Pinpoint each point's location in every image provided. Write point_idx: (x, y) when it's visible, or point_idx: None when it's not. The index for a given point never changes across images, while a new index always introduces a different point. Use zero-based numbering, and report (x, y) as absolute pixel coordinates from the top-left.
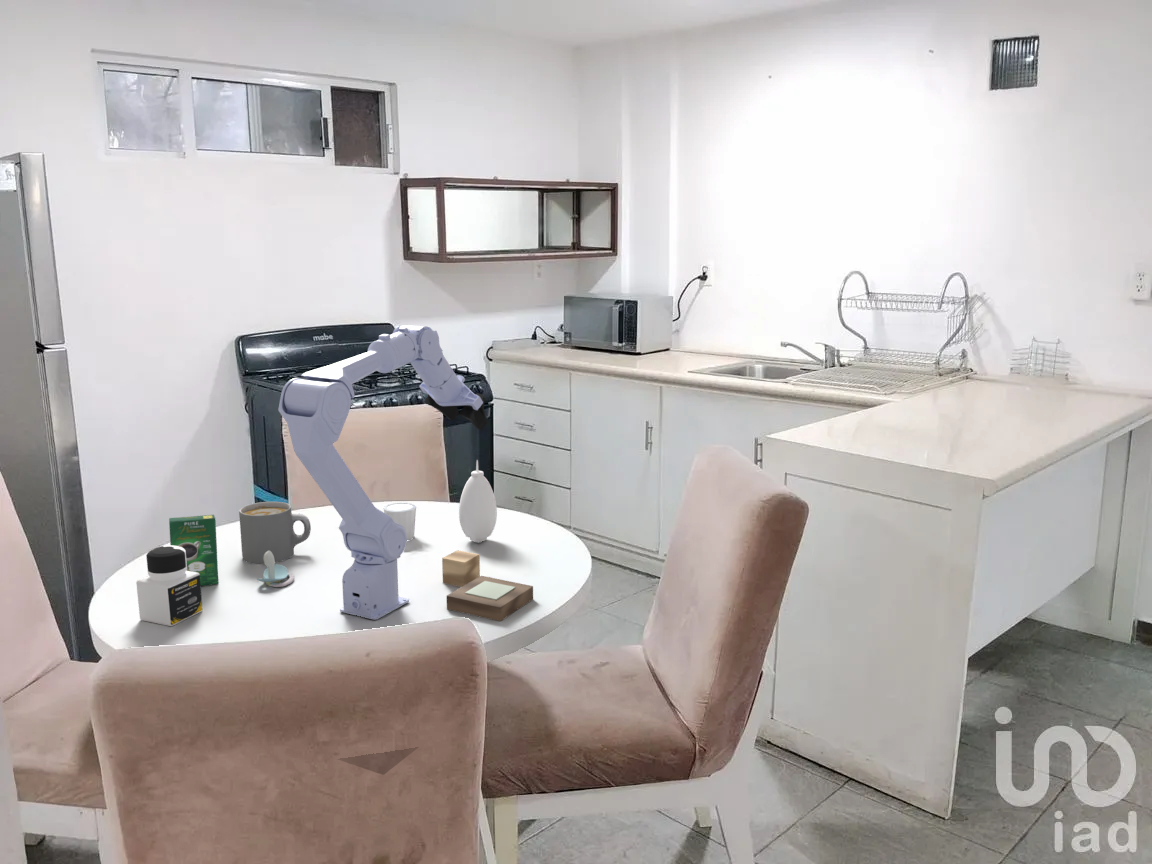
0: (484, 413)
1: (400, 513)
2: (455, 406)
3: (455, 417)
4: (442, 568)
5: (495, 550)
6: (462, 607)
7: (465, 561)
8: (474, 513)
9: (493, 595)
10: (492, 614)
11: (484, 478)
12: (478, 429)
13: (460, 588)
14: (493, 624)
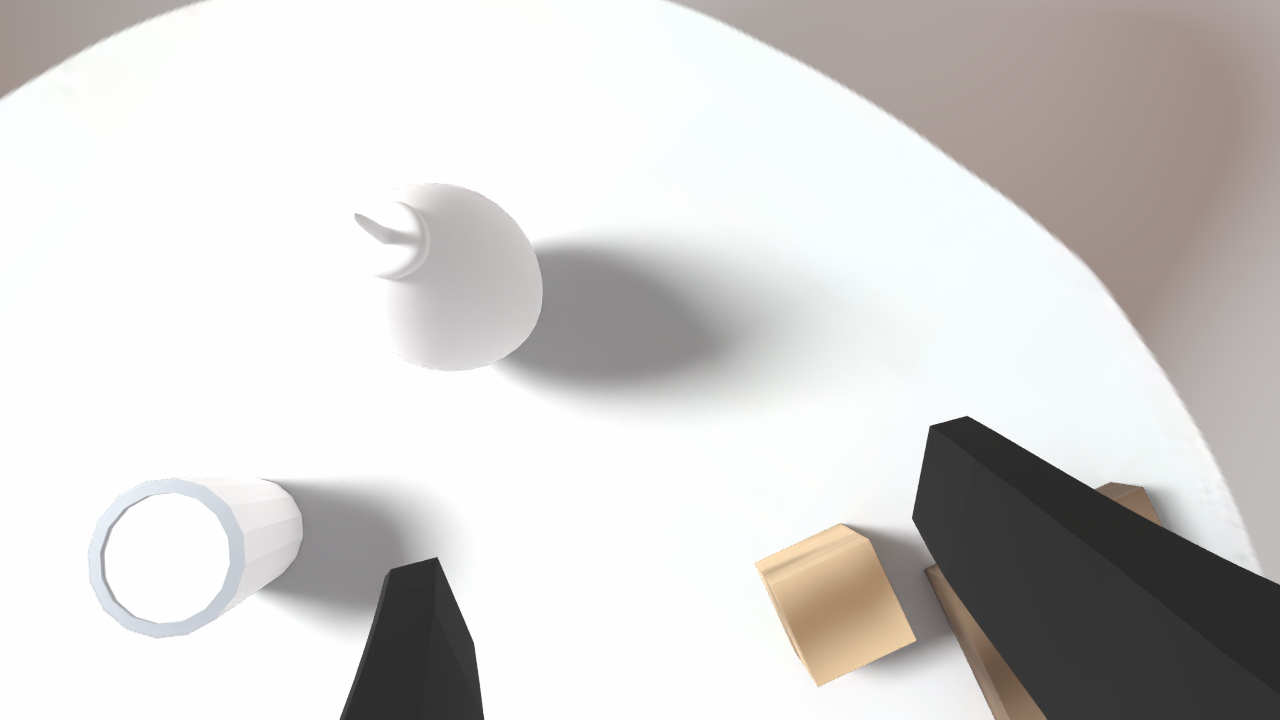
0: (1149, 524)
1: (240, 589)
2: (426, 676)
3: (461, 614)
4: (807, 670)
5: (614, 309)
6: None
7: (910, 631)
8: (512, 339)
9: None
10: None
11: (438, 220)
12: (919, 526)
13: (1011, 713)
14: None
